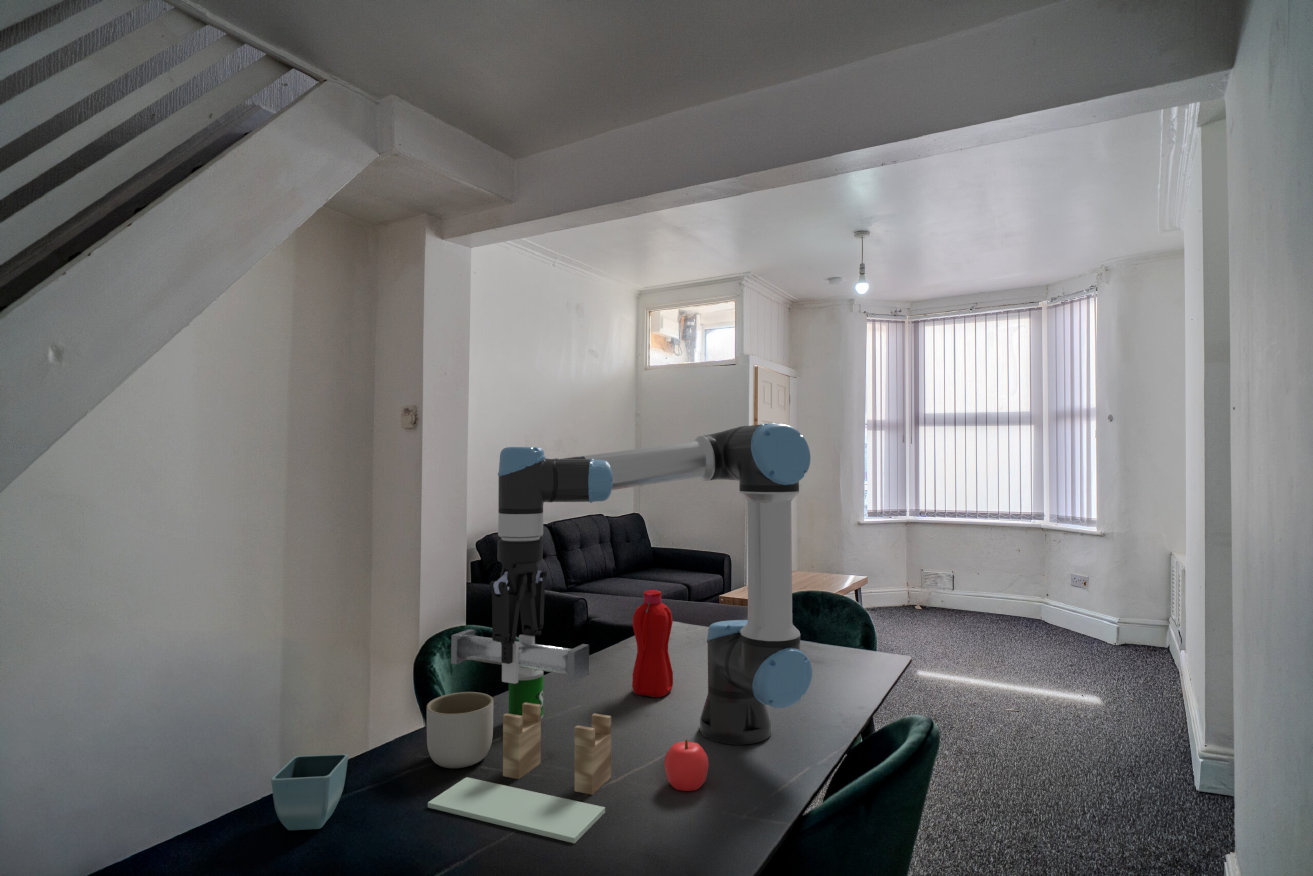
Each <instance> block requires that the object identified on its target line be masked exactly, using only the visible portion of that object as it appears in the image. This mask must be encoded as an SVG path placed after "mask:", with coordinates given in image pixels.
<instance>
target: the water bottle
mask: <svg viewBox="0 0 1313 876" xmlns="http://www.w3.org/2000/svg"><path fill="white" fill-rule="evenodd" d="M673 623H674V621H673V616H672V611H671V609H670V608H669V606H667V605H666V604H665V603H663V602H662V591H660V590H656V589H650V590H645V591H643V603H641V605H640V606H638V607H637V608H636V609H635V611H634V613H633V616H632V629H633V634H634V638H635V642H636V652H637V653H636V656H635V660H634V666H633V671H632V682H631V683H632V684H631V687H632V688H631V689H632V691H633V692H634V693H635V694H636V695H637V696H643V697H651V698H662V697H665V696H667V695H668V693H669V692H671V691H672V690H673V685H674V673H673V668H672V663H671V662H672V661H671V658H670V652H669V642H670V637H671V633H672V627H673Z"/></svg>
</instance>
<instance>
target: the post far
mask: <svg viewBox="0 0 1313 876" xmlns="http://www.w3.org/2000/svg"><path fill="white" fill-rule="evenodd" d="M541 734H542V719H541V705H539V704H532V703H526V702H525V703H523V704H522V716H520V715H514V714H509V712H508V713H504V714H503V715H502V777H506V778H510V779H515V780H520V779H521V778H523V777H525V776H526V775H527V774H528V773H530V772H531V771H532V770H534V769H535V768H536V767H538V766H539V765H541V764H542V763H541V762H542V761H541V759H542V758H541V757H542V754H541V753H542V749H541V747H542V745H541V744H542V743H541V742H542V735H541Z"/></svg>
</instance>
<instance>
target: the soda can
mask: <svg viewBox="0 0 1313 876" xmlns="http://www.w3.org/2000/svg"><path fill="white" fill-rule="evenodd" d="M518 672H519V667H518ZM525 702H526V703H532V704H539V705H541V720H543V718H544V671H541V670H534V675H532V676H530V675H523V674H518V683H516V684H514V683H508V714H514V715H520V716H522V704H523V703H525Z"/></svg>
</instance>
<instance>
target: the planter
mask: <svg viewBox="0 0 1313 876" xmlns="http://www.w3.org/2000/svg"><path fill="white" fill-rule="evenodd" d="M493 733H494V698H493V696H491V695H489V694H487V693H483V692H476V691H461V692H453V693H449V694H448V693H447V694H444V695H441V696H438V697H435V698H434V699H432V700H430V701H429V702H428V703H427V704H426V745H427V746H426V747H427V750H428V754H429V756H430V758H431V760H432V761H433V762H434V763H435V764H436V765H438V766H439V767H441V768H446V769H463V768H467V767H471V766H473V765H476V764H478V763H479V762H481V761H482V760H483V759H484V758H486V756H487V755H488V753H489V751H490V749H491V746H492V742H493V735H494V734H493Z"/></svg>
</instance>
